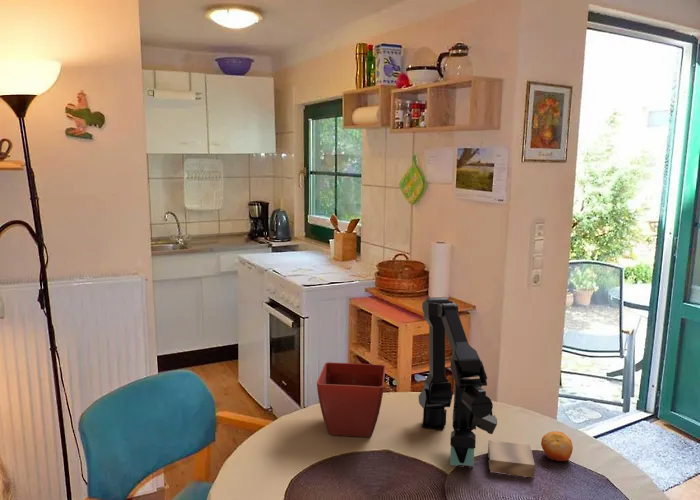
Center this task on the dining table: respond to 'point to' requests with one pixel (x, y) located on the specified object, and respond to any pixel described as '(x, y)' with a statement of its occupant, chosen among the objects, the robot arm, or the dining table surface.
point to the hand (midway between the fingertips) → (462, 456)
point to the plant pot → (351, 397)
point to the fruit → (557, 446)
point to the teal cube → (468, 460)
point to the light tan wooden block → (511, 458)
